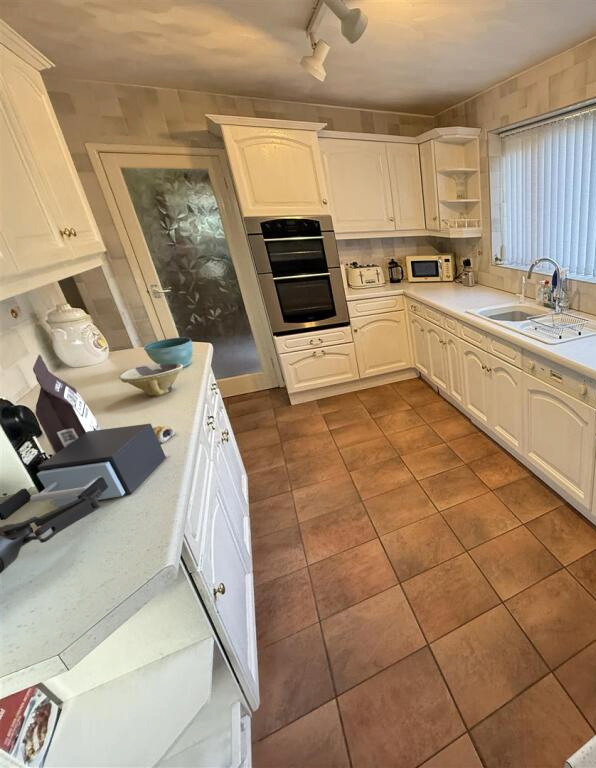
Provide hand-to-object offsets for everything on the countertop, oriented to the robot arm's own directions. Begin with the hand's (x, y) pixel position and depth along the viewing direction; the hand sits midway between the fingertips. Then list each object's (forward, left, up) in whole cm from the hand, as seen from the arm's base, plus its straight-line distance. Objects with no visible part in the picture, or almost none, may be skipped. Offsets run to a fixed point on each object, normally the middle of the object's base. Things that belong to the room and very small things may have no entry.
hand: (66, 487), depth 85 cm
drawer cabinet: (0, +13, -7) cm, 15 cm away
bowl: (-18, +73, -7) cm, 76 cm away
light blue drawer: (0, +8, -6) cm, 10 cm away
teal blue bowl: (-27, +104, -7) cm, 108 cm away
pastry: (-1, +33, -7) cm, 34 cm away
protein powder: (-16, +29, -7) cm, 34 cm away
